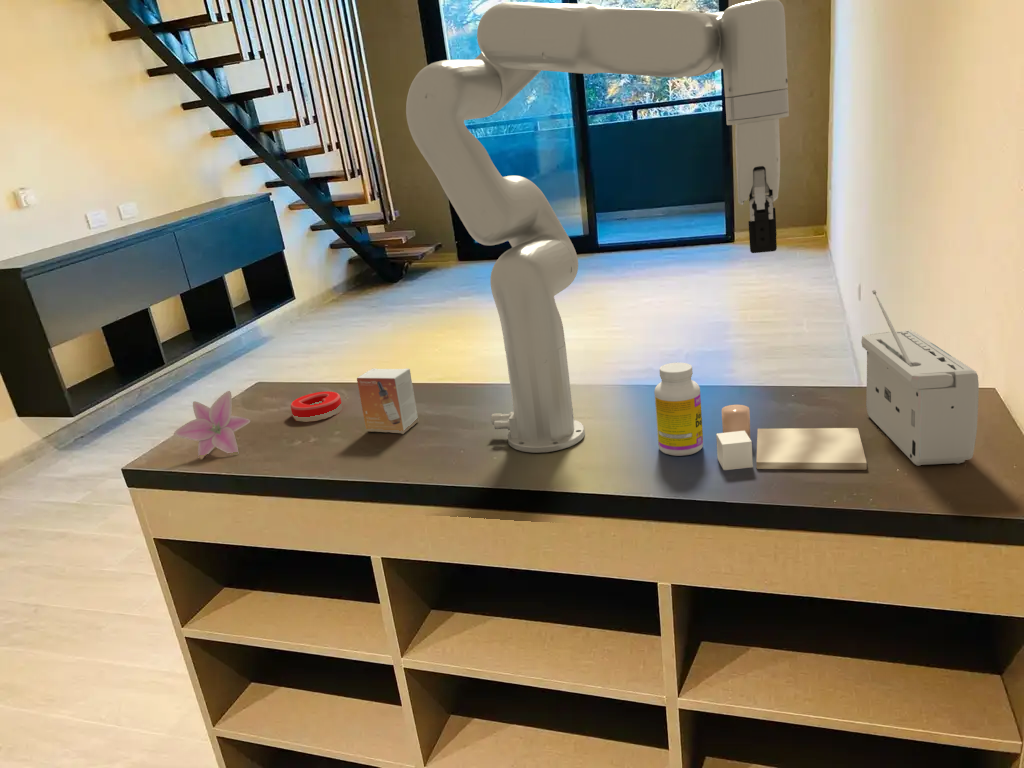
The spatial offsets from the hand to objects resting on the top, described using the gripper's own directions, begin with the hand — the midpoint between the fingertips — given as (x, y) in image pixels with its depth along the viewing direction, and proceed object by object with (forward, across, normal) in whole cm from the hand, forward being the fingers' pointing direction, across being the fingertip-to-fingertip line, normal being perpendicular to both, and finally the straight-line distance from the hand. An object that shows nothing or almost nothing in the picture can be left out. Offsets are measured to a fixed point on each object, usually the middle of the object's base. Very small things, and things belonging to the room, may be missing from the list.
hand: (763, 244), depth 107 cm
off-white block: (+30, +3, -5) cm, 31 cm away
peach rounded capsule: (+30, -5, -5) cm, 31 cm away
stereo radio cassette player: (+31, -6, +19) cm, 36 cm away
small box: (+29, -11, -66) cm, 72 cm away
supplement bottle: (+30, -2, -13) cm, 33 cm away
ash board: (+30, -1, +5) cm, 31 cm away
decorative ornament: (+29, -19, -86) cm, 92 cm away
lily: (+28, -1, -95) cm, 99 cm away
